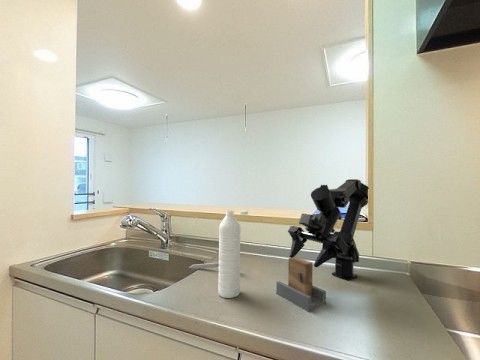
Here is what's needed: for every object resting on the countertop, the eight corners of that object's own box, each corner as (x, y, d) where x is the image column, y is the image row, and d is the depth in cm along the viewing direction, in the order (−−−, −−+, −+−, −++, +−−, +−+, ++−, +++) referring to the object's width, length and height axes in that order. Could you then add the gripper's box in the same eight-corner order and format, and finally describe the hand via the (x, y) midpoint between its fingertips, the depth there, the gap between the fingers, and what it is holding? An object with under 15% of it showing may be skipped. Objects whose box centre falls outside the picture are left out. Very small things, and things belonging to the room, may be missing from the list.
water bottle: (215, 297, 68) (216, 211, 69) (221, 287, 74) (222, 209, 75) (245, 300, 67) (246, 212, 67) (248, 290, 73) (249, 210, 73)
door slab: (295, 289, 72) (295, 256, 72) (312, 298, 66) (312, 262, 66) (286, 292, 70) (287, 258, 70) (303, 301, 64) (303, 264, 64)
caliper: (239, 274, 87) (239, 257, 87) (238, 275, 86) (238, 257, 86) (189, 267, 93) (190, 251, 93) (188, 268, 92) (188, 252, 92)
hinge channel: (293, 287, 75) (293, 276, 75) (325, 303, 65) (325, 291, 65) (276, 293, 71) (276, 281, 71) (307, 311, 61) (308, 298, 61)
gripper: (291, 202, 80) (266, 238, 73) (342, 206, 64) (315, 253, 58) (307, 223, 84) (284, 259, 78) (357, 232, 68) (335, 278, 62)
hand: (302, 261), depth 69 cm, fingers open, 9 cm apart
